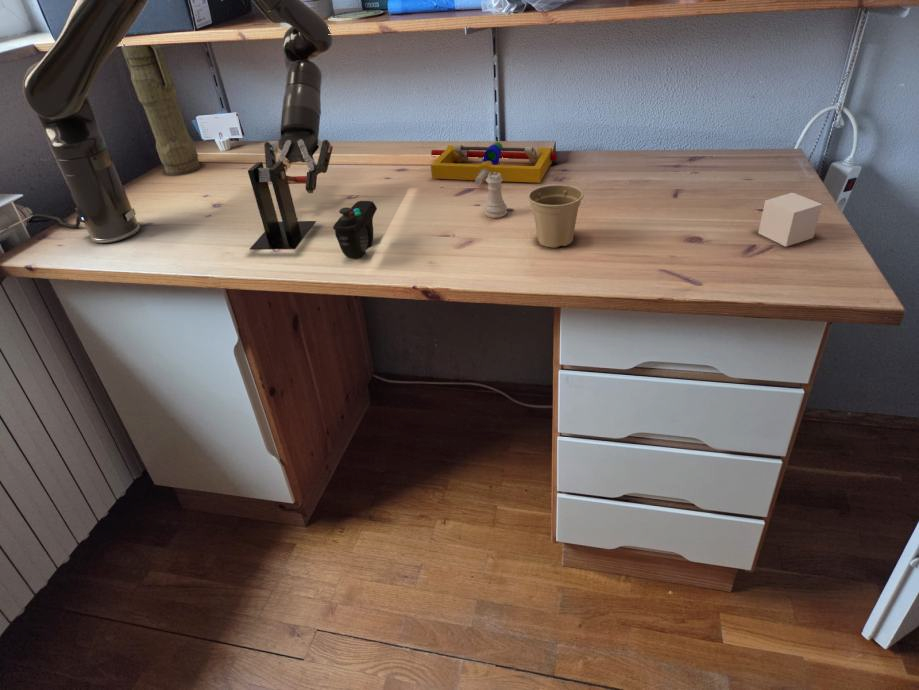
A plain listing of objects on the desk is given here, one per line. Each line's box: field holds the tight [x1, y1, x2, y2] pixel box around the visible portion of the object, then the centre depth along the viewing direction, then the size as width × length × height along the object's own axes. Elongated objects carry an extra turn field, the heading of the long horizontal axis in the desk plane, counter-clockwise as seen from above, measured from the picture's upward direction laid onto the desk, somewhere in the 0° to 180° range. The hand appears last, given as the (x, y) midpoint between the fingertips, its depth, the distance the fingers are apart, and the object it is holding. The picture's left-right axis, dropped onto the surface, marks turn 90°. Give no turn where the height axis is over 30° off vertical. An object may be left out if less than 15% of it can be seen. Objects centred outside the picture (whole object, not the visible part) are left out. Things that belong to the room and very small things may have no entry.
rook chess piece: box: [484, 172, 508, 219], centre depth 121 cm, size 4×4×8 cm
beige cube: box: [757, 192, 823, 248], centre depth 104 cm, size 6×6×6 cm
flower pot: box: [527, 184, 585, 249], centre depth 109 cm, size 9×9×9 cm
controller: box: [332, 200, 378, 259], centre depth 111 cm, size 4×12×10 cm, turn 167°
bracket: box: [247, 160, 317, 251], centre depth 117 cm, size 12×9×15 cm
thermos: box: [120, 43, 201, 176], centre depth 152 cm, size 9×12×35 cm
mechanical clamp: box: [430, 141, 558, 186], centre depth 139 cm, size 18×6×30 cm
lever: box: [258, 167, 307, 185], centre depth 119 cm, size 14×6×2 cm, turn 172°
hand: (294, 191), depth 125 cm, fingers closed on lever, 5 cm apart
